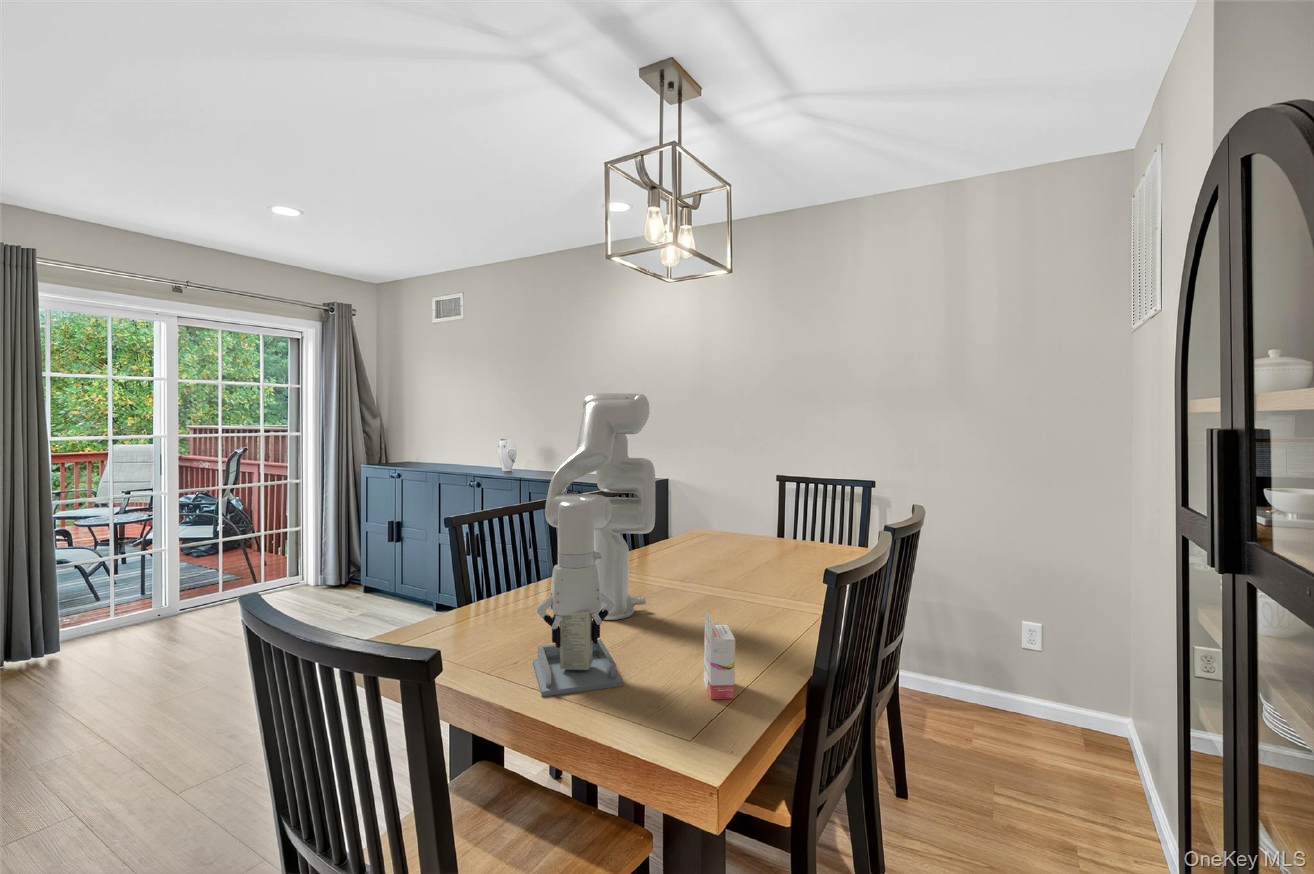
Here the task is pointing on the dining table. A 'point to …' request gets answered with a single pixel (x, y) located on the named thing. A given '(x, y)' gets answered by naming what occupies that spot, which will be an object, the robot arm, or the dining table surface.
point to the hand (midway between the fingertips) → (576, 642)
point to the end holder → (574, 672)
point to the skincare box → (576, 641)
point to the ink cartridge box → (719, 660)
